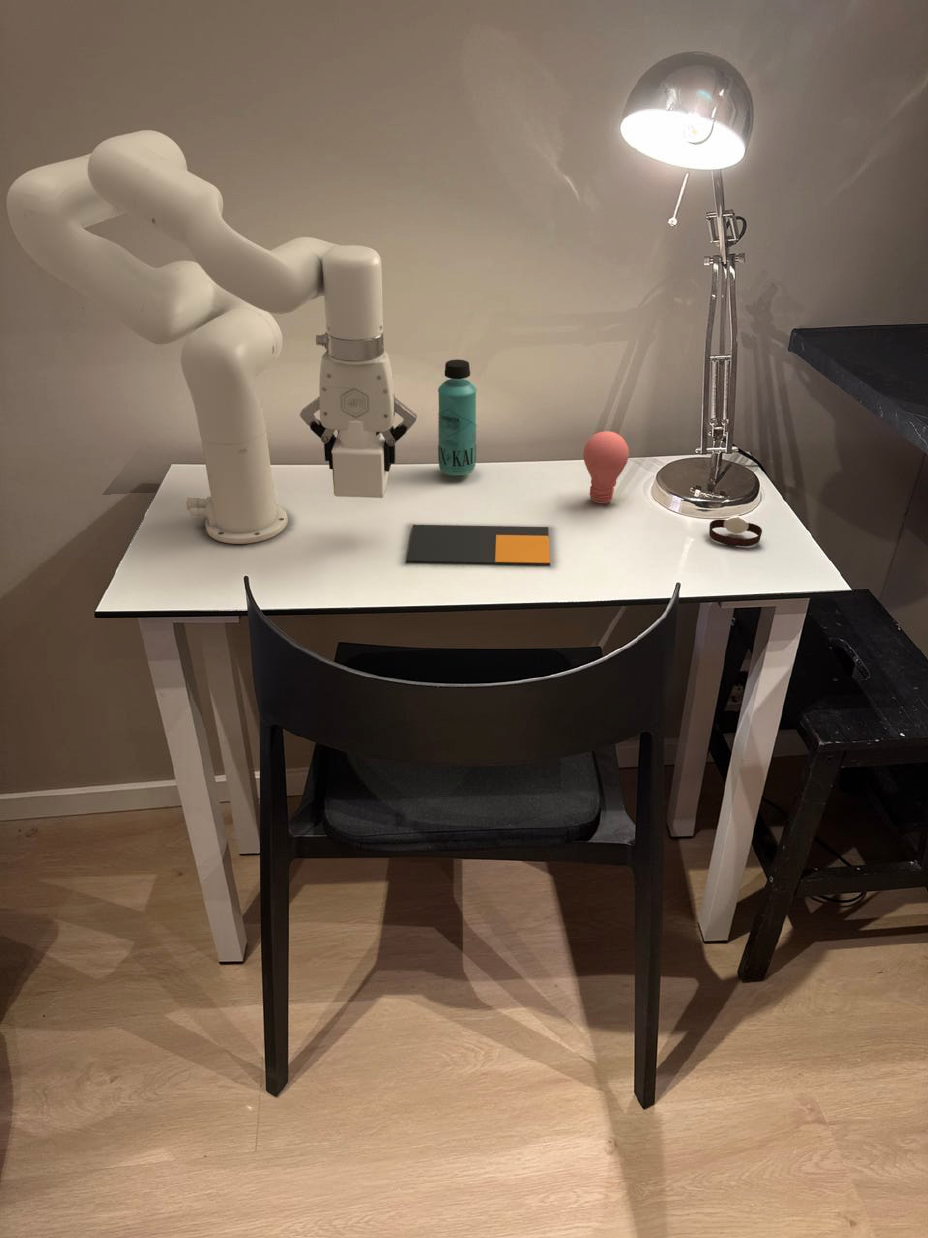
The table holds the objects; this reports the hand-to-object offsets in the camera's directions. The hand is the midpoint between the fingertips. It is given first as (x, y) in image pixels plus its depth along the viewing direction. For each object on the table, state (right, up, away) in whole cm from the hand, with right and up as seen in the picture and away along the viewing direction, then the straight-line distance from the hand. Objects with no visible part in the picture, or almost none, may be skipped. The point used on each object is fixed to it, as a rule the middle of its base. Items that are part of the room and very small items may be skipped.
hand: (360, 465), depth 137 cm
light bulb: (+37, -3, +18) cm, 42 cm away
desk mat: (+17, -11, +6) cm, 21 cm away
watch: (+56, -10, +7) cm, 57 cm away
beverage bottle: (+14, +2, +26) cm, 30 cm away
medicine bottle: (0, -3, +2) cm, 4 cm away
